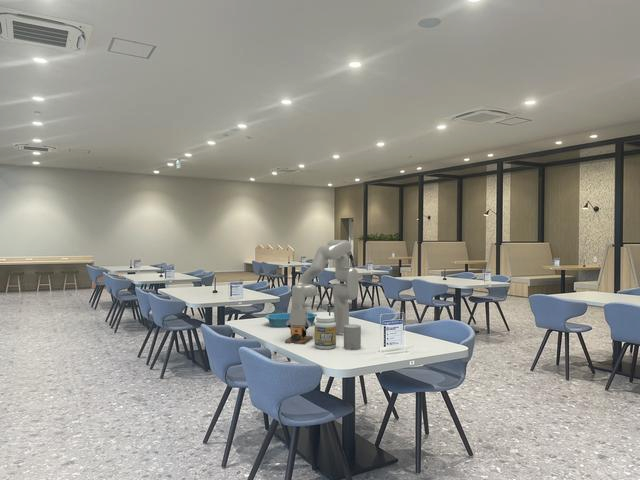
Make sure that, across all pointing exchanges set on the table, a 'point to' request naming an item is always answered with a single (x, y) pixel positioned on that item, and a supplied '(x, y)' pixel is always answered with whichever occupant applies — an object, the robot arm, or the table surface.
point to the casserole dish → (286, 319)
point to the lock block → (297, 331)
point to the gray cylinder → (352, 337)
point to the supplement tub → (325, 332)
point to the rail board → (298, 339)
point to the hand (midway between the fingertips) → (298, 336)
